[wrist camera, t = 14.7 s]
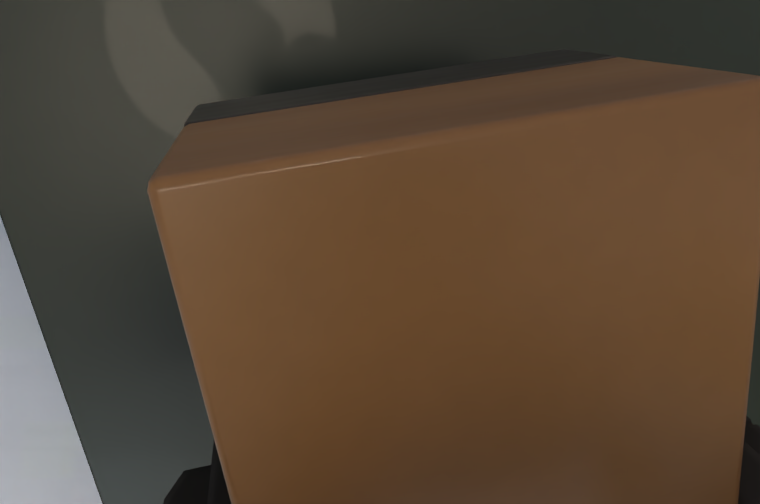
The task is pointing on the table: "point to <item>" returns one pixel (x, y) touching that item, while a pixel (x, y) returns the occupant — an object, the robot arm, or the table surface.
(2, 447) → the table surface
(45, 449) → the table surface
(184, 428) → the chalkboard
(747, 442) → the robot arm
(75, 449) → the table surface
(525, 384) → the eraser
